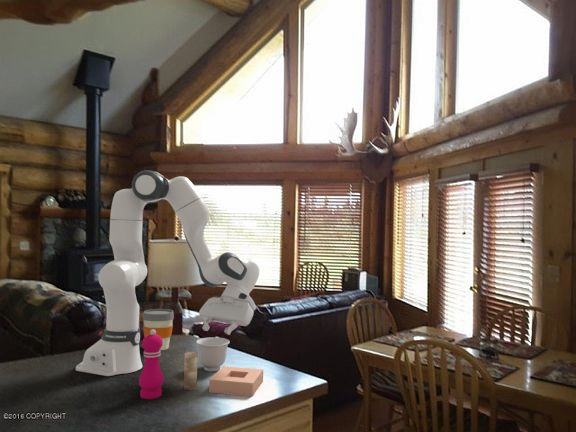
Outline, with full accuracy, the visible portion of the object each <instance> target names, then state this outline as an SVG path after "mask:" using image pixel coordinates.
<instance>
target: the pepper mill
mask: <svg viewBox="0 0 576 432" xmlns="http://www.w3.org/2000/svg"><path fill="white" fill-rule="evenodd" d="M162 345H163V341H162V338H161V337H160V336H159V335H156V331H155V330H154V329H152V330H151V331H150V335H147V336H146V337H143V340H142V343H141V347H142V349H144V350H143V357H144V365H143V366H144V367H142V368H143V369H142V371H141V373H140V375H139V380H138V385H139V387H140V388H141V389H140V391H139V396H140V398H141V399H144V400H153V399H158V398H161V396H162V395H163V392H162V388H161V387H162V385H164V375H163V371H162V369H161V366H160V356H161V355H162V354H161V352H162V350H160V348H161V347H162Z"/></svg>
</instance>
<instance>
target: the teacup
mask: <svg viewBox="0 0 576 432" xmlns="http://www.w3.org/2000/svg"><path fill="white" fill-rule="evenodd" d="M195 343H196V344H197V348H198V358H199V363H200V364H201V365H202V366H203V370H204V371H206V372H218V371H219V370H220V369H221V366H222V365H224V363H225V361H226V358H227V351H228V346H229V344H230V340H229V339H227V338H224V337H219V336H215V337H203V338H199V339H197V340H196V341H195Z"/></svg>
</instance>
